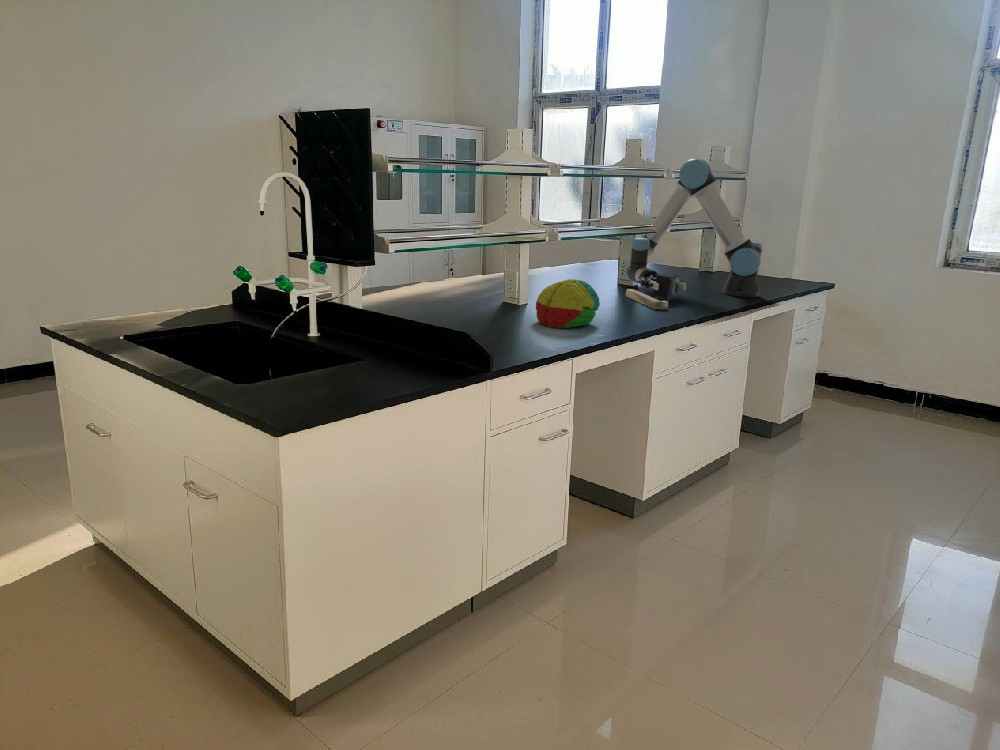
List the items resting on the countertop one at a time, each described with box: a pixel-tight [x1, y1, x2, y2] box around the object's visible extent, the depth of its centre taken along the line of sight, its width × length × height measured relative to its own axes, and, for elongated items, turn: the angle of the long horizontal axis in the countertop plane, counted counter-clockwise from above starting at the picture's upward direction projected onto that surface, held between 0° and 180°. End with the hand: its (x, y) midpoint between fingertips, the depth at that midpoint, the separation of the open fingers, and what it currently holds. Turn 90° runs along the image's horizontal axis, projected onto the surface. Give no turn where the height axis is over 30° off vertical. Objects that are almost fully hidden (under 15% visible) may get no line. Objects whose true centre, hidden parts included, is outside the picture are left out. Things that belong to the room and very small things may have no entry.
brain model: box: [535, 278, 601, 329], centre depth 242 cm, size 24×19×15 cm
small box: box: [652, 272, 681, 303], centre depth 295 cm, size 11×6×10 cm, turn 143°
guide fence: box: [625, 288, 669, 311], centre depth 287 cm, size 6×26×3 cm, turn 15°
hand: (671, 286), depth 291 cm, fingers closed on small box, 11 cm apart
